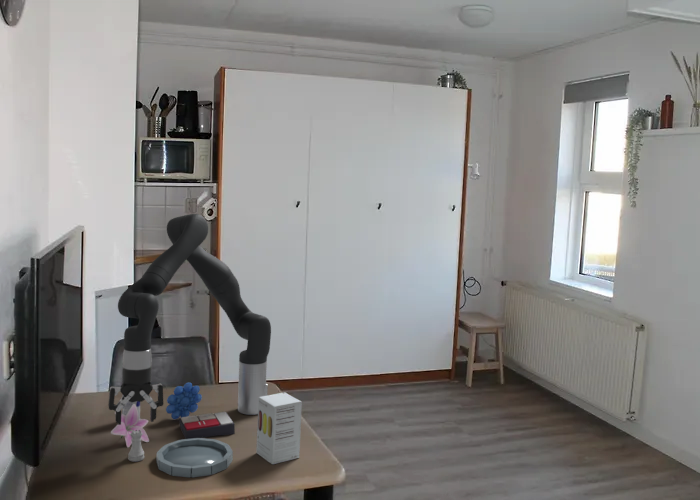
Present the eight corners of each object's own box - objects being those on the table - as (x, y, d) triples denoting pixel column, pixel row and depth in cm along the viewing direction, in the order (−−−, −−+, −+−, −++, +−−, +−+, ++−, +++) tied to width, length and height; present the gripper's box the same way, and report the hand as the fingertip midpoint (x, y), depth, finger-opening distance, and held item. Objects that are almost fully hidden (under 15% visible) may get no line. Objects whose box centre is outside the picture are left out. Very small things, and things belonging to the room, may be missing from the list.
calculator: (179, 416, 209) (226, 409, 215) (179, 429, 210) (226, 422, 216) (185, 428, 199) (234, 421, 205) (185, 442, 200) (235, 434, 206)
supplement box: (255, 453, 192) (257, 396, 191) (282, 446, 198) (284, 391, 196) (272, 465, 185) (274, 406, 183) (300, 458, 190) (302, 400, 189)
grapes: (197, 412, 223) (198, 377, 222) (203, 418, 217) (204, 383, 216) (162, 417, 217) (162, 381, 216) (167, 424, 211) (168, 387, 210)
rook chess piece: (129, 455, 187) (130, 427, 186) (146, 455, 187) (146, 428, 186) (125, 462, 182) (126, 434, 182) (142, 462, 183) (143, 434, 182)
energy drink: (142, 419, 214) (143, 383, 213) (135, 425, 209) (136, 388, 208) (126, 418, 215) (127, 381, 213) (119, 424, 209) (119, 386, 208)
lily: (103, 453, 190) (116, 428, 187) (102, 424, 200) (114, 400, 197) (143, 458, 196) (157, 434, 193) (140, 430, 206) (153, 407, 203)
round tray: (223, 443, 198) (223, 435, 198) (238, 471, 180) (239, 462, 180) (153, 451, 190) (153, 442, 190) (162, 481, 172) (162, 472, 172)
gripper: (162, 359, 188) (160, 415, 190) (108, 362, 183) (107, 420, 184) (165, 367, 181) (164, 424, 183) (110, 370, 176) (109, 429, 178)
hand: (135, 422), depth 184 cm, fingers open, 8 cm apart
